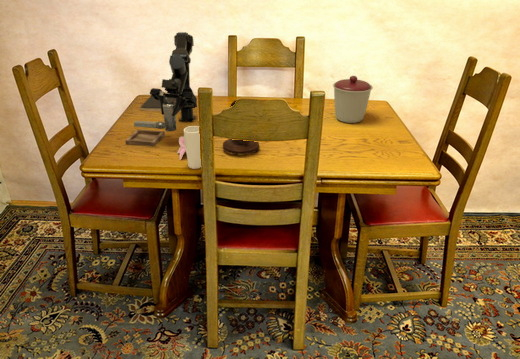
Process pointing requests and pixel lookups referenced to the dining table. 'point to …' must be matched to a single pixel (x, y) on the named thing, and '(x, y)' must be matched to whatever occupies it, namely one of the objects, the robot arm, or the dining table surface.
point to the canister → (351, 99)
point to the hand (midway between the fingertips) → (167, 115)
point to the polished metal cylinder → (169, 116)
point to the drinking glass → (192, 146)
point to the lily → (182, 148)
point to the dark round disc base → (240, 145)
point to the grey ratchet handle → (149, 124)
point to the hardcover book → (154, 104)
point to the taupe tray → (145, 138)
